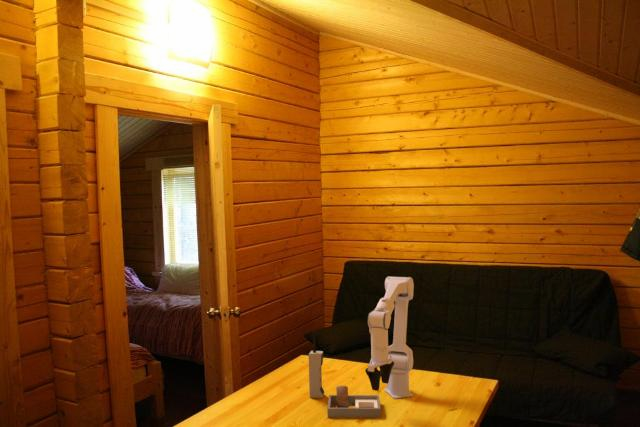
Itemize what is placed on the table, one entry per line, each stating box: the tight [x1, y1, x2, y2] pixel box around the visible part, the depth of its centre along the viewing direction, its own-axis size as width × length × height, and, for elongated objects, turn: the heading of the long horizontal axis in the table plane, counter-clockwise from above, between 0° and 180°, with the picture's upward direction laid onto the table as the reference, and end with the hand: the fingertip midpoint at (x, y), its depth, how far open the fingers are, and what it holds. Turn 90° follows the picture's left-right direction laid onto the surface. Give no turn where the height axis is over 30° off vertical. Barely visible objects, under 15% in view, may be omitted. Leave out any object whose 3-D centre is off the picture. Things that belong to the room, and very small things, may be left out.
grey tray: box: [326, 394, 382, 419], centre depth 182 cm, size 18×12×3 cm, turn 86°
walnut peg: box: [335, 385, 349, 408], centre depth 182 cm, size 4×4×8 cm
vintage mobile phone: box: [308, 330, 325, 399], centre depth 195 cm, size 4×5×25 cm
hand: (380, 386), depth 176 cm, fingers open, 7 cm apart
